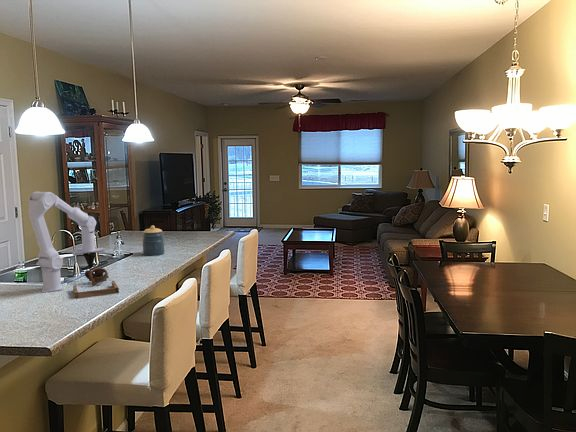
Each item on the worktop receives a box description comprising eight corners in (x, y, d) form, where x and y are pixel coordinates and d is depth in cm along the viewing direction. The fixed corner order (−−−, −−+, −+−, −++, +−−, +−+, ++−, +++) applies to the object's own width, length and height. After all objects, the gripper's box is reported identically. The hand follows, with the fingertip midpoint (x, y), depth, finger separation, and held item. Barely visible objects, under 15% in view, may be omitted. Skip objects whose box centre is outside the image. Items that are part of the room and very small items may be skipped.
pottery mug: (113, 281, 234) (112, 268, 230) (102, 294, 227) (101, 281, 222) (89, 274, 235) (88, 262, 230) (78, 287, 228) (77, 274, 223)
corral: (73, 290, 217) (73, 285, 216) (114, 285, 224) (114, 280, 224) (75, 298, 204) (75, 293, 204) (118, 292, 212) (118, 287, 212)
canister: (159, 256, 290) (158, 227, 288) (139, 255, 292) (137, 226, 290) (168, 252, 303) (166, 224, 301) (148, 251, 305) (147, 223, 303)
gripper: (73, 243, 227) (75, 271, 228) (105, 240, 234) (107, 268, 236) (71, 241, 233) (73, 269, 235) (103, 238, 240) (105, 265, 242)
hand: (90, 268), depth 235 cm, fingers closed
